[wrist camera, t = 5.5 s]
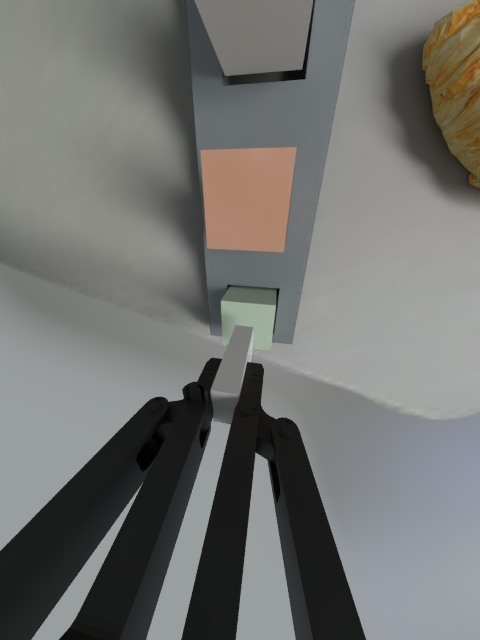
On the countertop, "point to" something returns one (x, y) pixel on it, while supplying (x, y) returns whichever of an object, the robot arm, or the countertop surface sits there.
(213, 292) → the grey slotted tray
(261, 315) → the key sage
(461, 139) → the croissant
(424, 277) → the countertop surface
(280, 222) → the key terracotta
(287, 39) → the key white
